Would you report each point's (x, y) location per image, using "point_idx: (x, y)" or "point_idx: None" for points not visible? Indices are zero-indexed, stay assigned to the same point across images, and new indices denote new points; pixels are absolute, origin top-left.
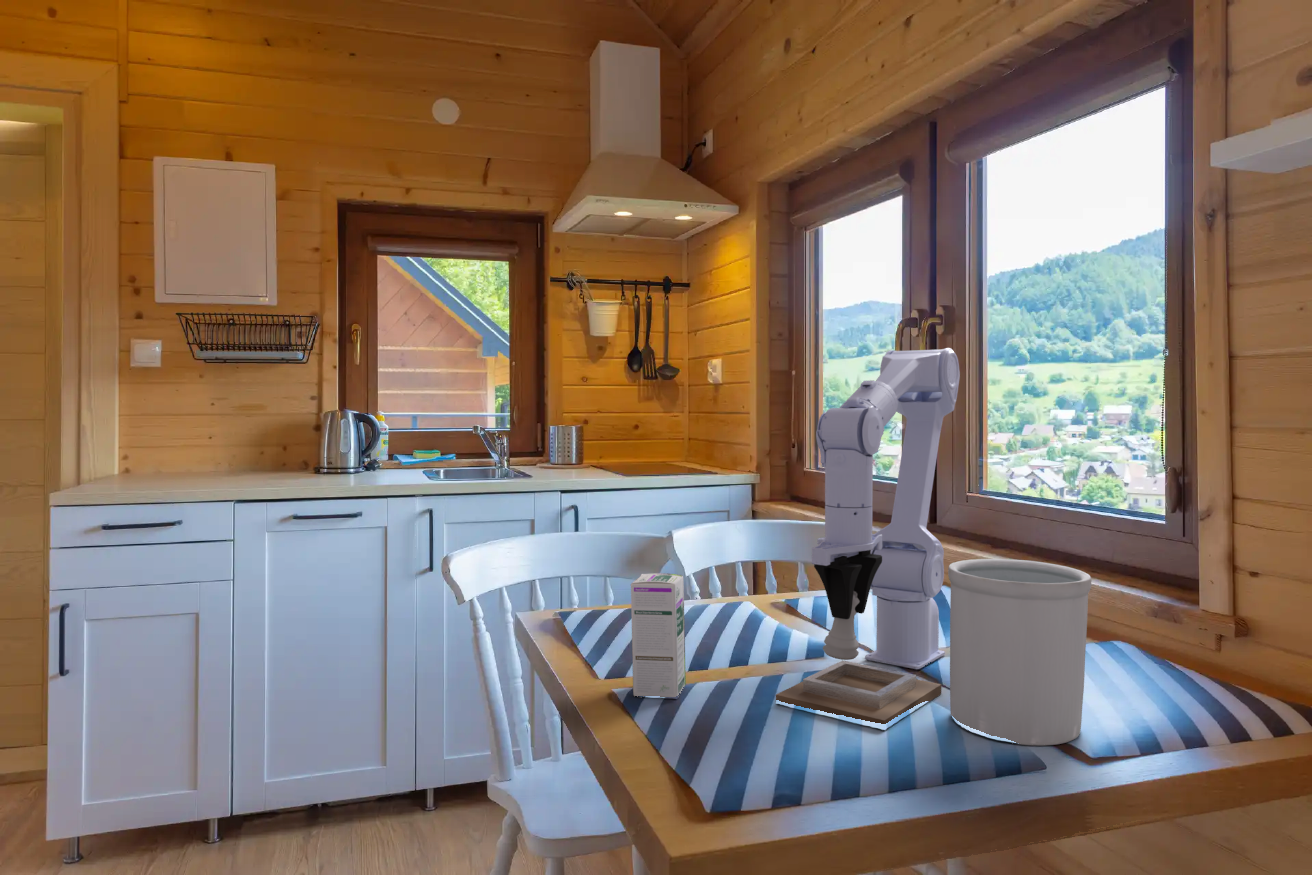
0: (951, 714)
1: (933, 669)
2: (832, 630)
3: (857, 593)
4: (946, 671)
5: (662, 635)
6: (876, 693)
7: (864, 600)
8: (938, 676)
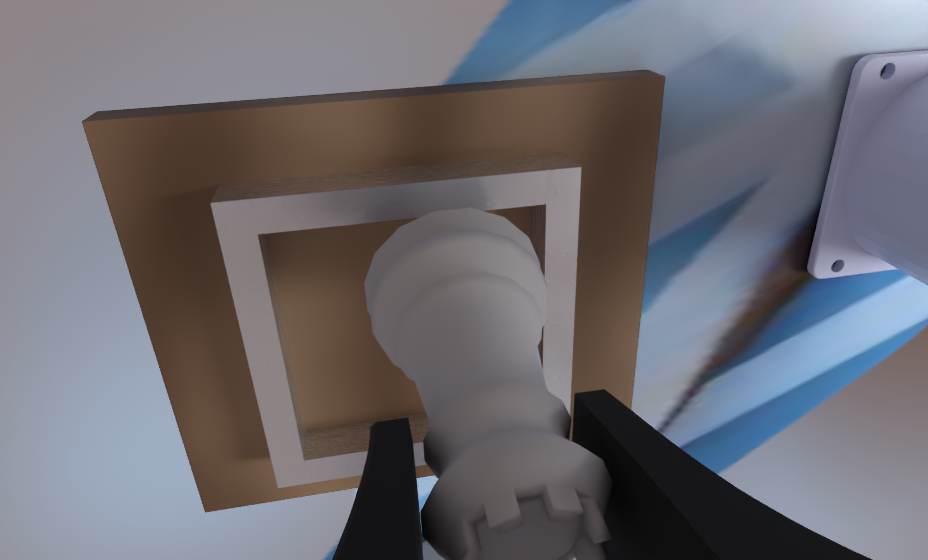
0: (423, 551)
1: (842, 294)
2: (416, 332)
3: (626, 544)
4: (837, 330)
5: None
6: (295, 467)
7: None
8: (775, 339)
